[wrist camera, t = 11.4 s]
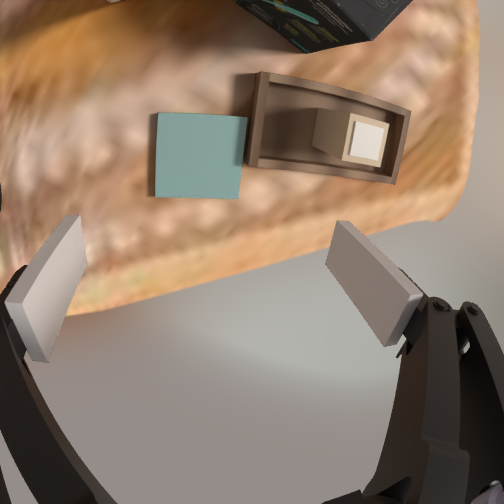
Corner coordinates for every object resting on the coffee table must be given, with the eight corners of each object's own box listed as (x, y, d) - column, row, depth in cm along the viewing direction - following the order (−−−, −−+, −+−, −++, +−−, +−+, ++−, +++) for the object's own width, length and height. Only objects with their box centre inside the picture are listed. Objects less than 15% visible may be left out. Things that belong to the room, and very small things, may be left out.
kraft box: (311, 145, 34) (342, 160, 27) (318, 107, 32) (351, 113, 25) (345, 151, 35) (381, 167, 28) (352, 115, 33) (390, 124, 26)
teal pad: (156, 194, 34) (155, 197, 33) (159, 112, 29) (158, 113, 28) (236, 196, 36) (238, 199, 35) (246, 116, 31) (247, 117, 30)
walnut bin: (244, 161, 34) (248, 166, 32) (256, 73, 29) (261, 71, 27) (385, 179, 39) (395, 184, 37) (400, 108, 34) (411, 110, 31)
